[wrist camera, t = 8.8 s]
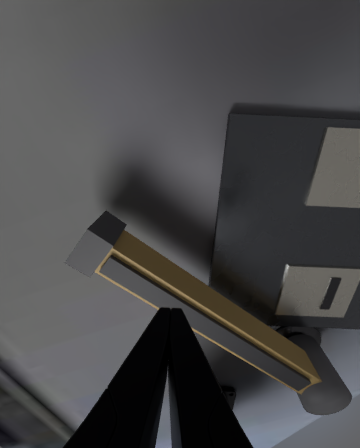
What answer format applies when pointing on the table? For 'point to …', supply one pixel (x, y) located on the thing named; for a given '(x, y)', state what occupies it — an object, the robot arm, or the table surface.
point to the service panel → (290, 222)
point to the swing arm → (210, 314)
